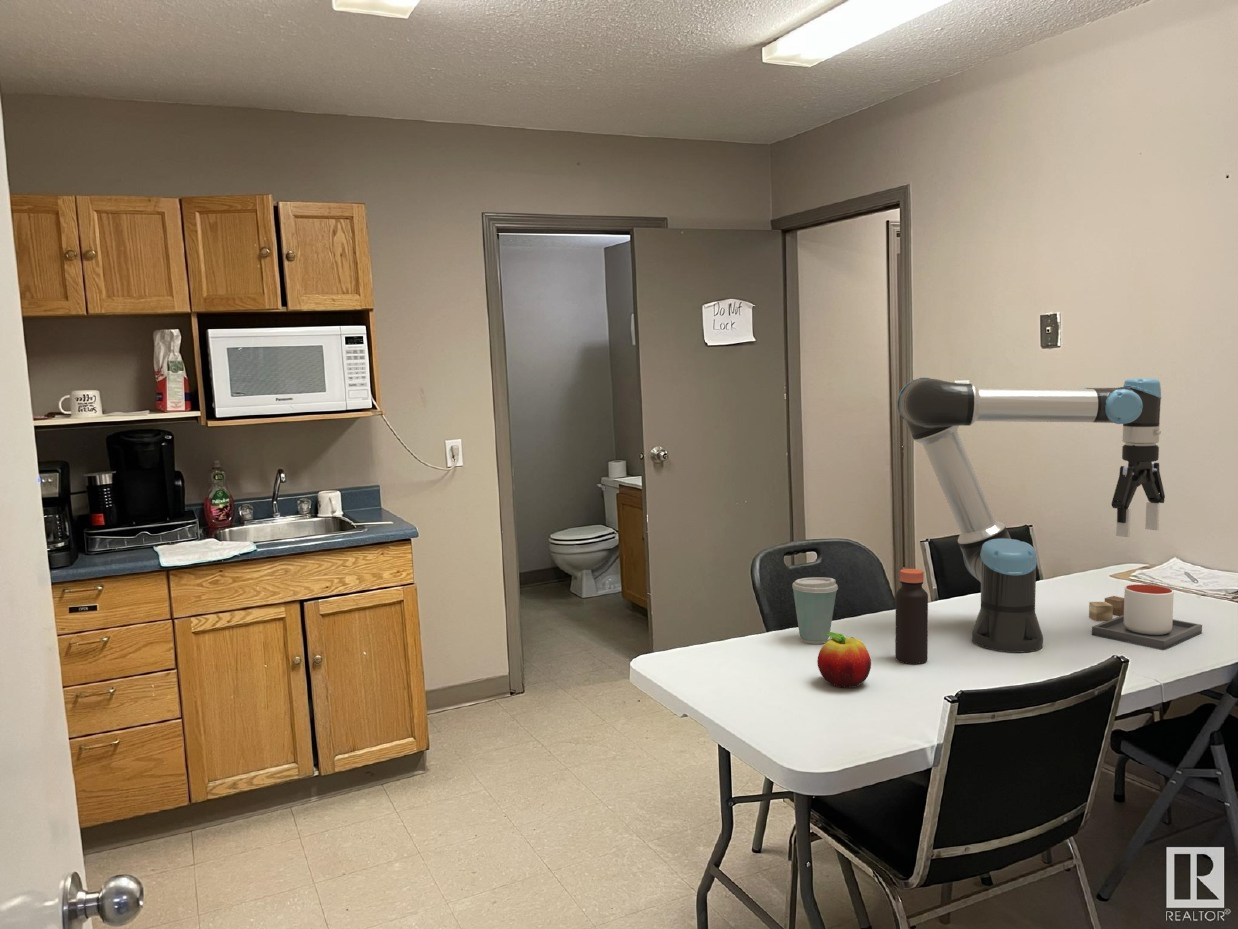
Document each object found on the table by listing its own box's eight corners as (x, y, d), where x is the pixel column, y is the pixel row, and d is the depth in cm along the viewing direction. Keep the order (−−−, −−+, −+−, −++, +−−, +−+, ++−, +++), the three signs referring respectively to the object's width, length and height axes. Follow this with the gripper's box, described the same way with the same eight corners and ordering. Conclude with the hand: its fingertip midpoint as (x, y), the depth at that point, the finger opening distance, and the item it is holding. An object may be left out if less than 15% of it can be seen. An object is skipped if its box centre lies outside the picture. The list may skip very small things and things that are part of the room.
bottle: (888, 658, 205) (889, 569, 203) (913, 653, 208) (913, 566, 206) (909, 666, 199) (910, 575, 197) (934, 662, 202) (935, 572, 200)
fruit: (838, 695, 183) (838, 646, 182) (806, 679, 193) (806, 633, 192) (882, 687, 187) (882, 639, 186) (848, 671, 197) (848, 626, 196)
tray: (1163, 650, 206) (1164, 641, 205) (1091, 635, 218) (1091, 626, 218) (1201, 633, 218) (1202, 624, 217) (1131, 619, 230) (1131, 611, 230)
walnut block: (1119, 616, 234) (1119, 601, 233) (1104, 613, 237) (1104, 598, 237) (1128, 614, 236) (1129, 599, 235) (1113, 611, 239) (1113, 595, 239)
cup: (1179, 637, 212) (1180, 594, 211) (1132, 636, 214) (1133, 593, 213) (1162, 625, 222) (1163, 584, 221) (1117, 624, 224) (1118, 583, 223)
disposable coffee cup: (783, 641, 220) (783, 579, 218) (807, 631, 228) (807, 571, 226) (823, 649, 213) (822, 585, 211) (846, 639, 220) (846, 577, 219)
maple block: (1095, 621, 230) (1096, 606, 229) (1088, 617, 234) (1089, 601, 233) (1112, 621, 229) (1113, 605, 229) (1105, 617, 233) (1105, 601, 233)
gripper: (1129, 448, 208) (1126, 541, 210) (1182, 441, 222) (1179, 528, 224) (1096, 446, 214) (1094, 537, 216) (1150, 440, 228) (1147, 525, 230)
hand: (1137, 533), depth 220 cm, fingers open, 13 cm apart
